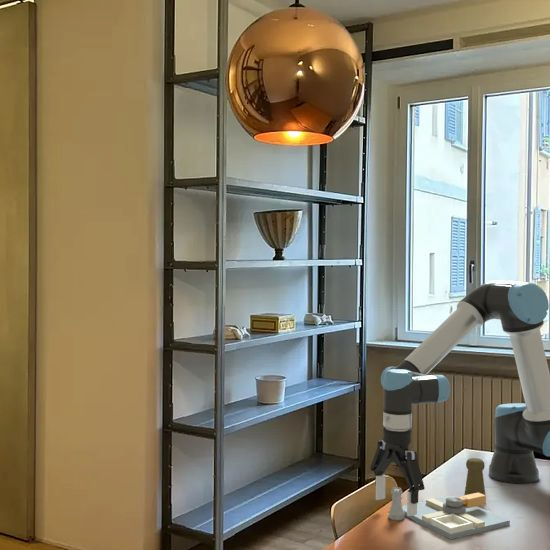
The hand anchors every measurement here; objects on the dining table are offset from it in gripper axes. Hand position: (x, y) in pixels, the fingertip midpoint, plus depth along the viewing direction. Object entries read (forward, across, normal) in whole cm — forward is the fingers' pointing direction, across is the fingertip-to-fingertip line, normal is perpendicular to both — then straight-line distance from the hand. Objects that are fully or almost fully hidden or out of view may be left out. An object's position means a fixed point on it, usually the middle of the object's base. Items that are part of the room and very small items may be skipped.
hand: (395, 506), depth 194 cm
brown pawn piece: (+3, -3, +31) cm, 32 cm away
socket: (+2, +14, +7) cm, 16 cm away
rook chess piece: (+3, 0, 0) cm, 3 cm away
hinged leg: (0, +8, +17) cm, 19 cm away
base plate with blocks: (+3, +7, +13) cm, 15 cm away
